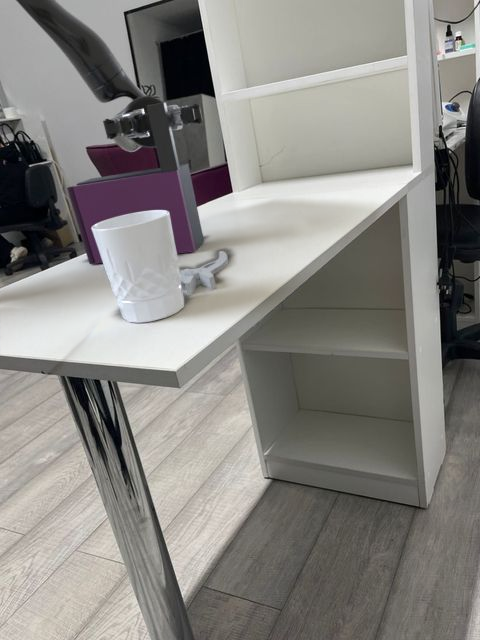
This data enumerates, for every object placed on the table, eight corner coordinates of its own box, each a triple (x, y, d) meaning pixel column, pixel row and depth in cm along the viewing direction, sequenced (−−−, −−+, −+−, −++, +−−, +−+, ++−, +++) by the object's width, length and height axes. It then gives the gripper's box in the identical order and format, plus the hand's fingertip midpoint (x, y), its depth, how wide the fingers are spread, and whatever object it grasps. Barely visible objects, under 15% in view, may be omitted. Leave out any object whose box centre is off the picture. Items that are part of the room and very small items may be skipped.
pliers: (222, 244, 76) (241, 270, 62) (225, 255, 76) (243, 284, 63) (153, 259, 74) (156, 289, 61) (155, 270, 75) (159, 302, 62)
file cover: (88, 264, 83) (45, 123, 75) (91, 262, 84) (49, 123, 76) (195, 251, 80) (163, 102, 72) (197, 249, 81) (166, 102, 73)
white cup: (202, 307, 57) (181, 212, 53) (132, 332, 54) (104, 232, 50) (173, 293, 63) (152, 207, 59) (108, 314, 60) (82, 225, 56)
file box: (99, 262, 85) (76, 183, 80) (111, 253, 89) (90, 178, 84) (196, 250, 81) (178, 167, 76) (204, 241, 86) (188, 163, 81)
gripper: (95, 105, 86) (98, 99, 71) (183, 90, 89) (203, 82, 74) (108, 154, 89) (114, 158, 74) (193, 139, 92) (213, 140, 77)
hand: (158, 120), depth 74 cm, fingers open, 8 cm apart
